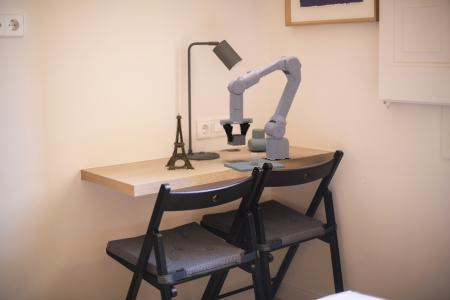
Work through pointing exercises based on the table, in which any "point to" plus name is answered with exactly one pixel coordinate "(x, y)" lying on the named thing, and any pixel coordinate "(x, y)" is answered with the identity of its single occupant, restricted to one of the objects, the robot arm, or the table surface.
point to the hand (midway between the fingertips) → (236, 141)
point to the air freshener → (257, 140)
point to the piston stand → (251, 164)
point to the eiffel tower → (177, 144)
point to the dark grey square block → (237, 140)
